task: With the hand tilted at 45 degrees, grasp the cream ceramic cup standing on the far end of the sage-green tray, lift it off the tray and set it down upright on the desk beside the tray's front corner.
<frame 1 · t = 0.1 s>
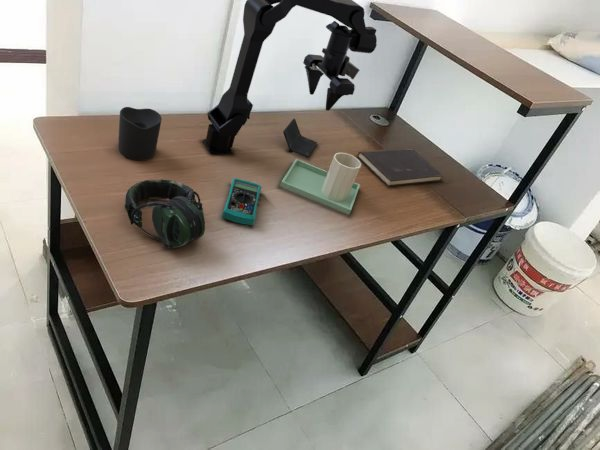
hand: (319, 102, 147), 15 cm above the table, tool pointing down, fingers open, 9 cm apart
digital multimeter: (241, 206, 122), on the table
hardcover book: (398, 169, 162), on the table
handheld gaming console: (297, 146, 154), on the table
headphones: (164, 225, 109), on the table
cup: (334, 193, 138), point 1 cm above the table, touching tray
tray: (319, 189, 138), on the table
pen holder: (136, 152, 127), on the table
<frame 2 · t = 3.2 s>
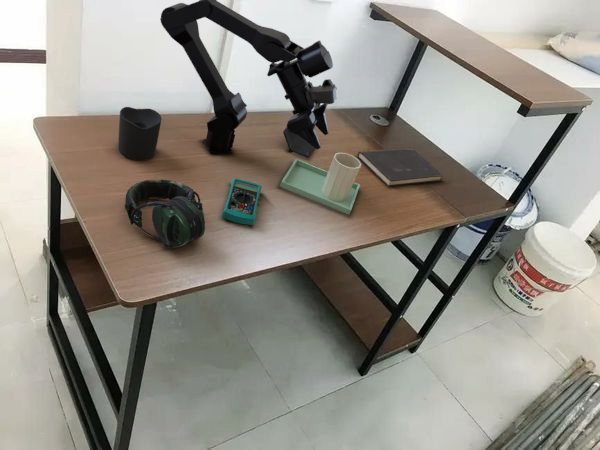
hand: (322, 141, 131), 13 cm above the table, tool tilted 45°, fingers open, 9 cm apart
nothing on the table moved.
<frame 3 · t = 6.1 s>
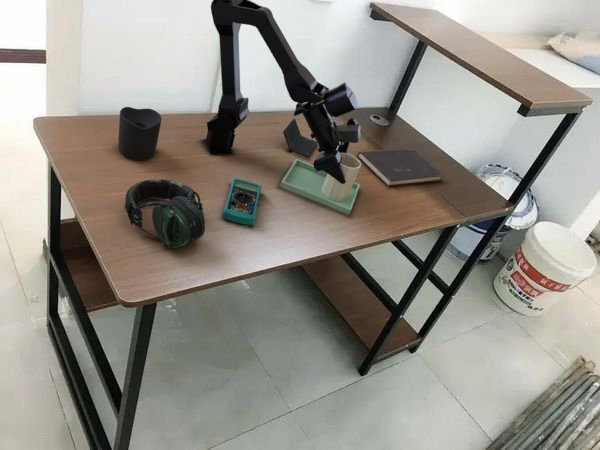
hand: (346, 176, 134), 7 cm above the table, tool tilted 45°, fingers closed on cup, 7 cm apart
cup: (334, 193, 138), point 1 cm above the table, touching gripper, tray
everything else where it was.
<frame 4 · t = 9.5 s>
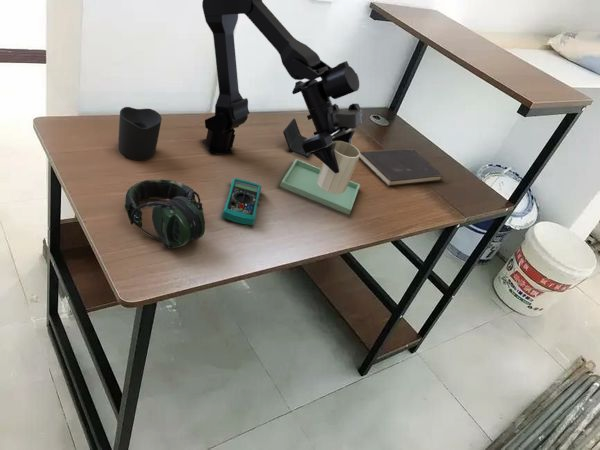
hand: (344, 167, 123), 13 cm above the table, tool tilted 45°, fingers closed on cup, 7 cm apart
cup: (331, 185, 127), point 7 cm above the table, touching gripper
everything else where it was.
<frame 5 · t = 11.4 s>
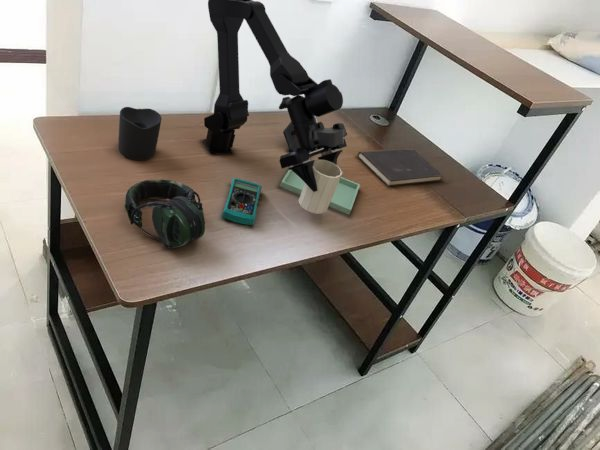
hand: (325, 187, 121), 10 cm above the table, tool tilted 45°, fingers closed on cup, 7 cm apart
cup: (313, 204, 125), point 4 cm above the table, touching gripper
everything else where it was.
when the fingers open (6 cm above the table, at t = 13.1 s): cup stays where it is, on the table.
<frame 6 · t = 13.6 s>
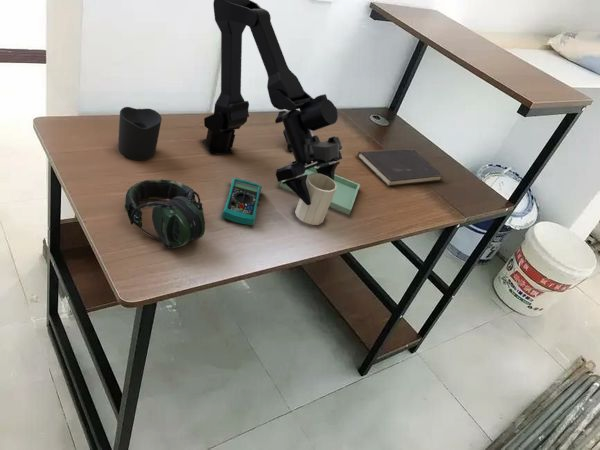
hand: (320, 199, 123), 6 cm above the table, tool tilted 45°, fingers open, 9 cm apart
cup: (308, 216, 127), on the table
everything else where it was.
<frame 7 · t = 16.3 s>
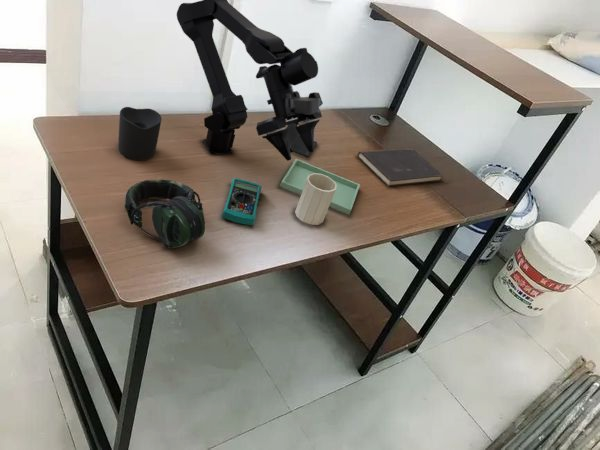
hand: (300, 156, 123), 13 cm above the table, tool tilted 45°, fingers open, 9 cm apart
nothing on the table moved.
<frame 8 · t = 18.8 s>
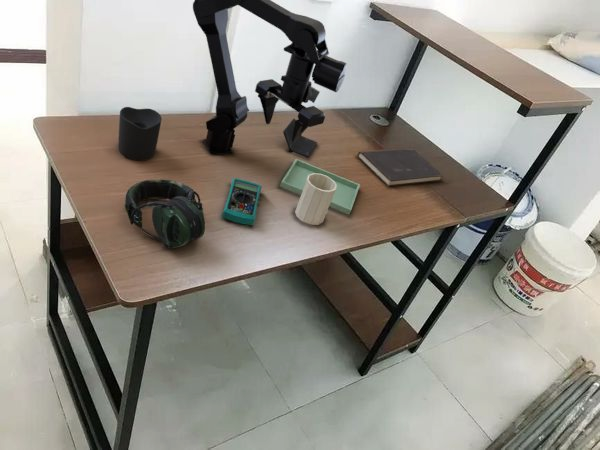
hand: (280, 132, 131), 12 cm above the table, tool pointing down, fingers open, 9 cm apart
nothing on the table moved.
at the end: cup inside the target area (0.1 cm from its centre), on the table; cup touching table; cup tilted 0° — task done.
